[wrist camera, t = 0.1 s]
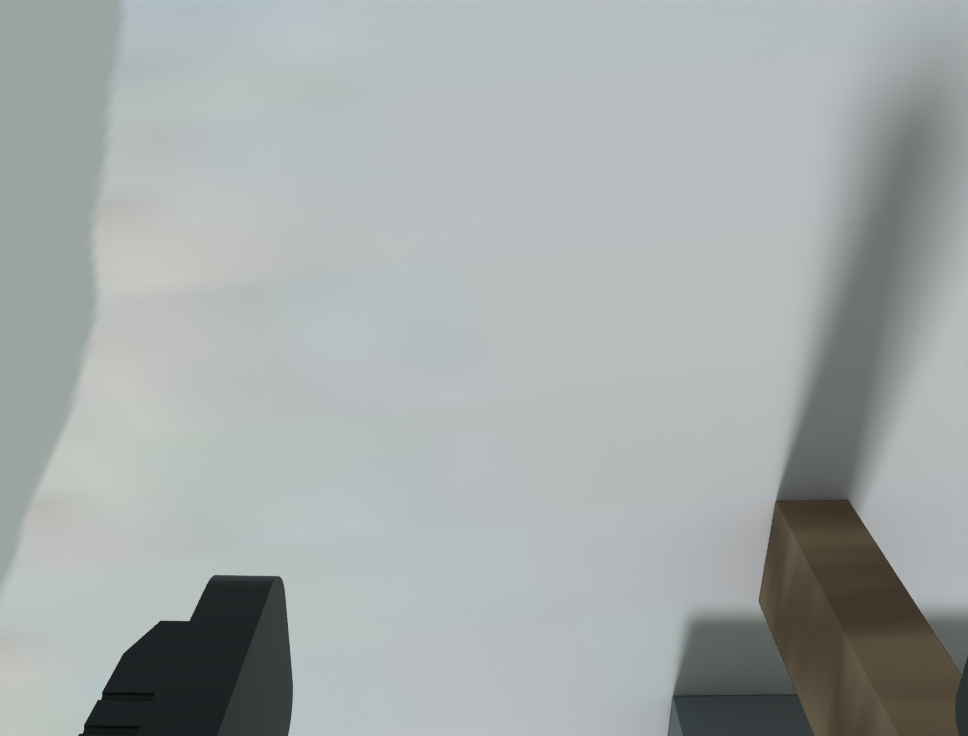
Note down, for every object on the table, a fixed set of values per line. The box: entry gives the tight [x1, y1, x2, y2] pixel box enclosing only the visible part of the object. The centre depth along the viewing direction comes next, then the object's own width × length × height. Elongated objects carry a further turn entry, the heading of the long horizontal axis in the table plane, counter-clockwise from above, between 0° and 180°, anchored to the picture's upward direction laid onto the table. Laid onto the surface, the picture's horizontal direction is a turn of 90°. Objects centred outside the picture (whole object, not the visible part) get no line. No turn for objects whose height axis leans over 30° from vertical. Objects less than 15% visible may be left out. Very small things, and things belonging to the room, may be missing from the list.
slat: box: [759, 500, 962, 736], centre depth 25 cm, size 4×2×13 cm, turn 0°
